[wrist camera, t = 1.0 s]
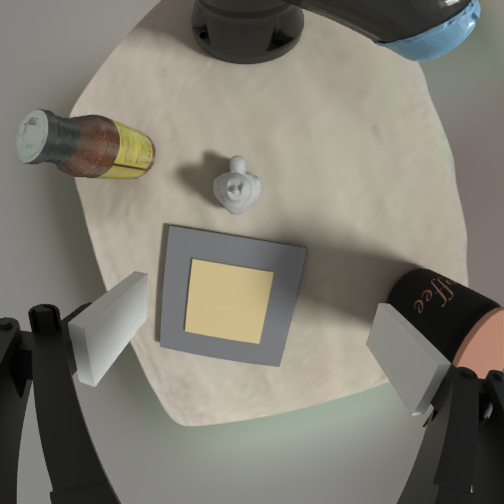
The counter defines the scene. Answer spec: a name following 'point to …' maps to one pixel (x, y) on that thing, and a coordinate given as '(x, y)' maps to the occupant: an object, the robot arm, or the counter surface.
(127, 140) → the sauce bottle
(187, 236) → the board
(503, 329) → the coffee jar
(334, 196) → the counter surface
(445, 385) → the robot arm
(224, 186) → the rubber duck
